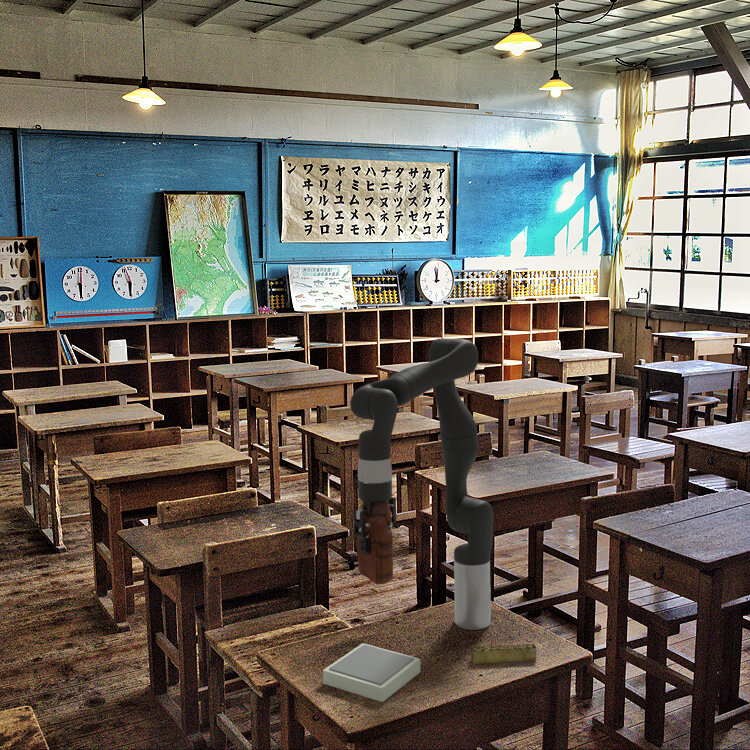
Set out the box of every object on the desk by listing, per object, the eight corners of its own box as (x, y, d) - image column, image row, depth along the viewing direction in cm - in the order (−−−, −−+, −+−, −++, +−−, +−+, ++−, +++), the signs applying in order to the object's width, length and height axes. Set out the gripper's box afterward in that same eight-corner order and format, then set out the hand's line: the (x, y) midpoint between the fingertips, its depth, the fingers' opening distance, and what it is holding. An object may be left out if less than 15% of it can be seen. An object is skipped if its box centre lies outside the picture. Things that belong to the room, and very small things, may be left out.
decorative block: (534, 656, 208) (534, 642, 208) (536, 661, 206) (536, 647, 206) (470, 660, 208) (470, 646, 207) (472, 665, 205) (472, 650, 205)
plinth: (363, 655, 211) (362, 642, 210) (420, 671, 202) (420, 657, 201) (323, 683, 197) (322, 668, 197) (382, 702, 189) (382, 686, 188)
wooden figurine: (401, 581, 193) (402, 502, 190) (376, 586, 190) (376, 506, 187) (375, 565, 203) (376, 490, 201) (351, 570, 200) (351, 493, 198)
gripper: (378, 468, 201) (378, 537, 203) (342, 482, 189) (343, 555, 191) (406, 472, 197) (406, 542, 199) (371, 486, 185) (372, 561, 187)
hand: (375, 548), depth 195 cm, fingers closed on wooden figurine, 8 cm apart
